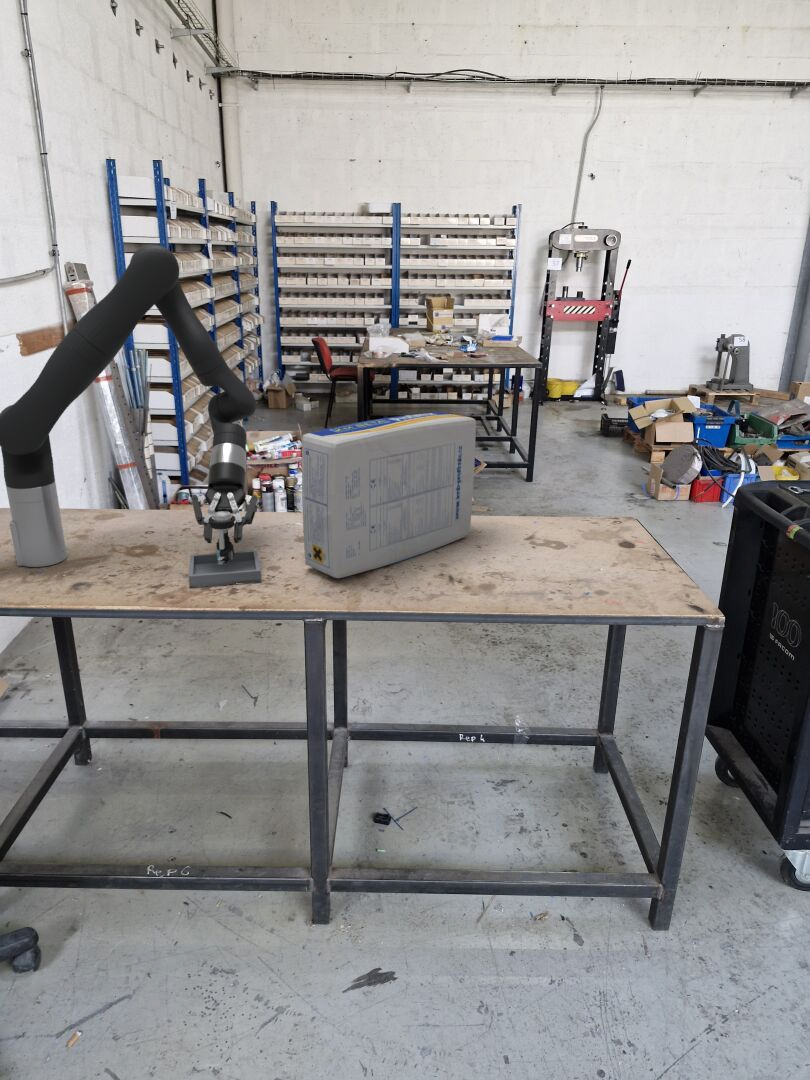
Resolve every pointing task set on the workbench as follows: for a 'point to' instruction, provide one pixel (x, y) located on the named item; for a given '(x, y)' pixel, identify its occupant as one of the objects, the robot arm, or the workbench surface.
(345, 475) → the construction material bag
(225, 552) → the push button
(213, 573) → the tray
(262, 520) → the workbench surface
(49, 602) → the workbench surface
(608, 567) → the workbench surface
